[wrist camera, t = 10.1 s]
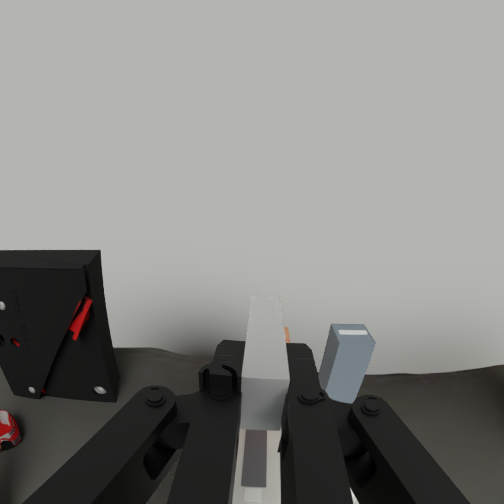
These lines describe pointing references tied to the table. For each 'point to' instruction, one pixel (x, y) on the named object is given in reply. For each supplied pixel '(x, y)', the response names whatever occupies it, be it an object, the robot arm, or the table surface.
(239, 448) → the switch plate
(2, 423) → the race car
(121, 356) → the table surface
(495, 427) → the table surface
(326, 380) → the slate switch
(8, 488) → the table surface
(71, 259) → the electrical component
